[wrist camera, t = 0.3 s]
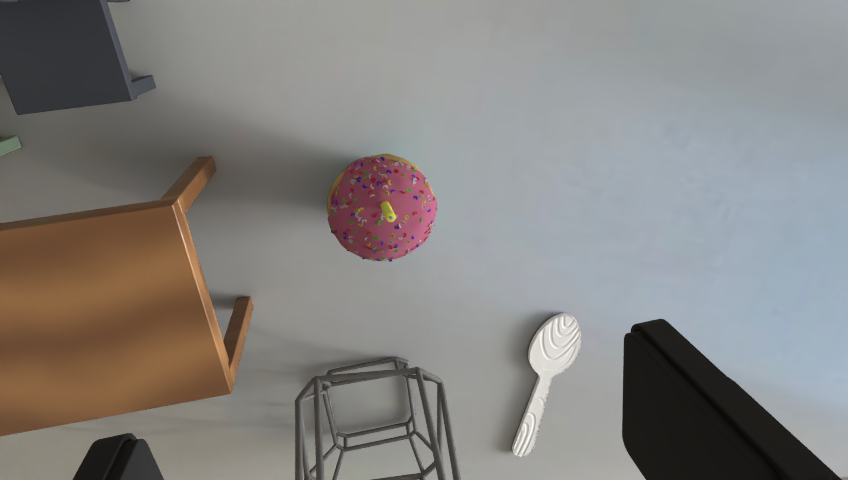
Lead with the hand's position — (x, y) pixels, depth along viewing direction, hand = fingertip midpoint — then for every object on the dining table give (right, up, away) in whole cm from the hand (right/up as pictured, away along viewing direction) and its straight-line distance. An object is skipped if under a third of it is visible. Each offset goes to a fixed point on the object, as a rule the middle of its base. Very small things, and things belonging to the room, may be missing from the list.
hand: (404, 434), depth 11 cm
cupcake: (-4, +8, +36) cm, 37 cm away
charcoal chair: (-23, +18, +28) cm, 40 cm away
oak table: (-26, +2, +34) cm, 43 cm away
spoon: (+13, -12, +47) cm, 50 cm away
